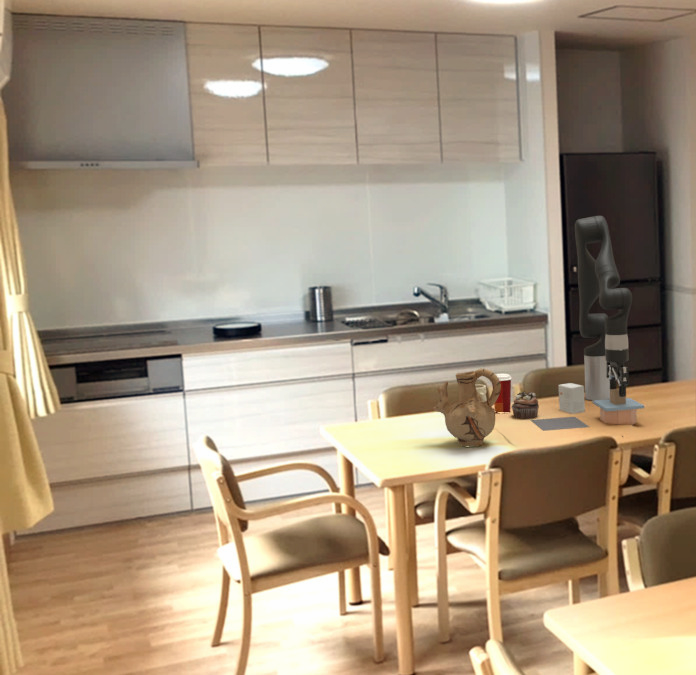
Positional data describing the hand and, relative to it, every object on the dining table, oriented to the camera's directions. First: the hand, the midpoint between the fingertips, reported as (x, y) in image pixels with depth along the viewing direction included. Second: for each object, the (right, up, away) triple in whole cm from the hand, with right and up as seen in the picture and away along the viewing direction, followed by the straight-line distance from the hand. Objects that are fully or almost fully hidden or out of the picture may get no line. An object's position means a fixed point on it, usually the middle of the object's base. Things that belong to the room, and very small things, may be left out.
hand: (617, 394), depth 292 cm
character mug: (-45, -11, +17) cm, 50 cm away
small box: (-10, -9, +20) cm, 24 cm away
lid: (0, -4, +1) cm, 4 cm away
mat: (-19, -11, +2) cm, 22 cm away
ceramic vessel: (-52, -16, -12) cm, 56 cm away
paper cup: (-34, -9, +29) cm, 46 cm away
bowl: (+1, -10, +1) cm, 10 cm away
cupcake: (-28, -10, +16) cm, 34 cm away
